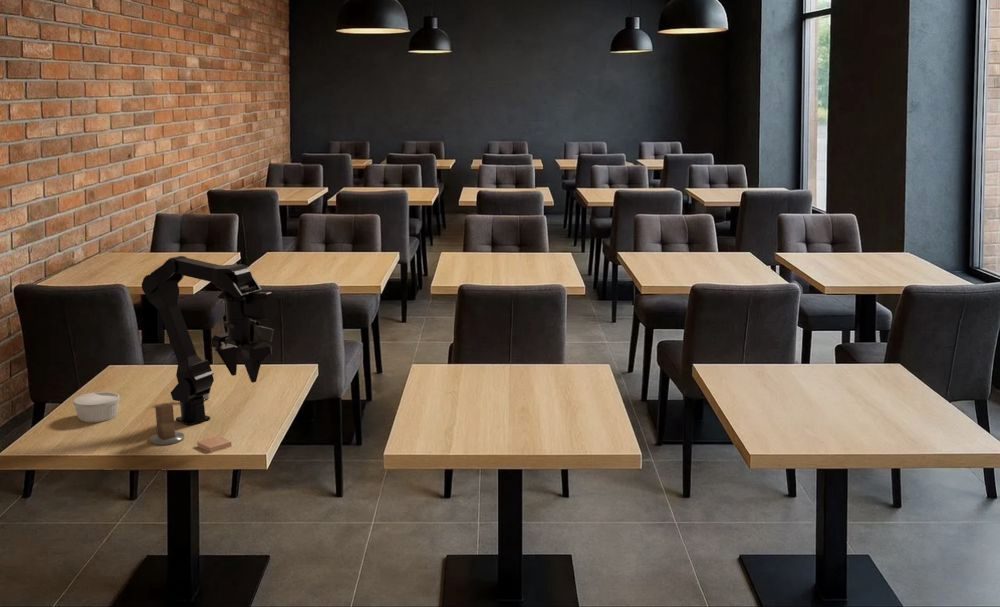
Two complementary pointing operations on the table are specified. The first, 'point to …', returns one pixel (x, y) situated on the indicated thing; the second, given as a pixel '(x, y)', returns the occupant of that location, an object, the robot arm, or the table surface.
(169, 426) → the block
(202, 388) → the robot arm
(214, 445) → the tile
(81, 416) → the ramekin
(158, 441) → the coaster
